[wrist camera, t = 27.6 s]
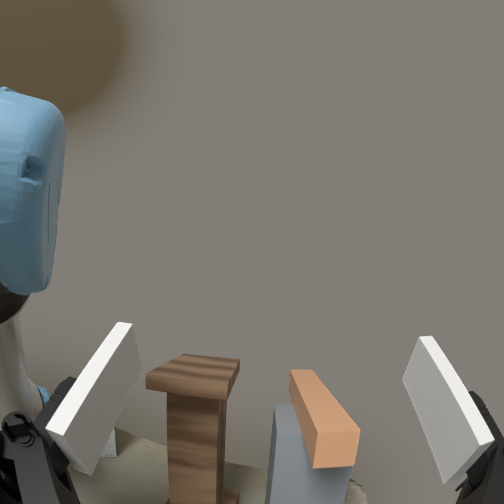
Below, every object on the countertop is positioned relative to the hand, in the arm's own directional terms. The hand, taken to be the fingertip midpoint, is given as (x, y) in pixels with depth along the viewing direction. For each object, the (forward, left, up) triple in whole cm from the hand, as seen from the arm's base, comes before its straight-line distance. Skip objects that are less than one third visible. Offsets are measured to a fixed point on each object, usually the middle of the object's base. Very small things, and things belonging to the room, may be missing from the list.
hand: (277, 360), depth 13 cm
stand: (+22, +23, -37) cm, 49 cm away
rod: (+27, +8, -13) cm, 31 cm away
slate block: (+27, +8, -37) cm, 46 cm away
